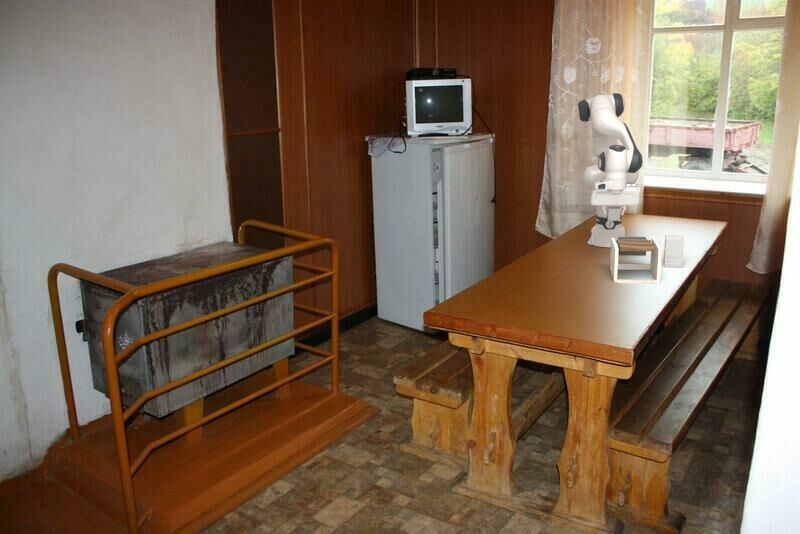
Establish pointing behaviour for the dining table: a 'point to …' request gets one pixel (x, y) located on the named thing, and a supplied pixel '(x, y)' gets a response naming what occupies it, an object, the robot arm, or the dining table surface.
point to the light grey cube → (613, 213)
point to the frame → (653, 266)
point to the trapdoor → (634, 246)
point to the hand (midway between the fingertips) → (613, 215)
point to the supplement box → (673, 250)
